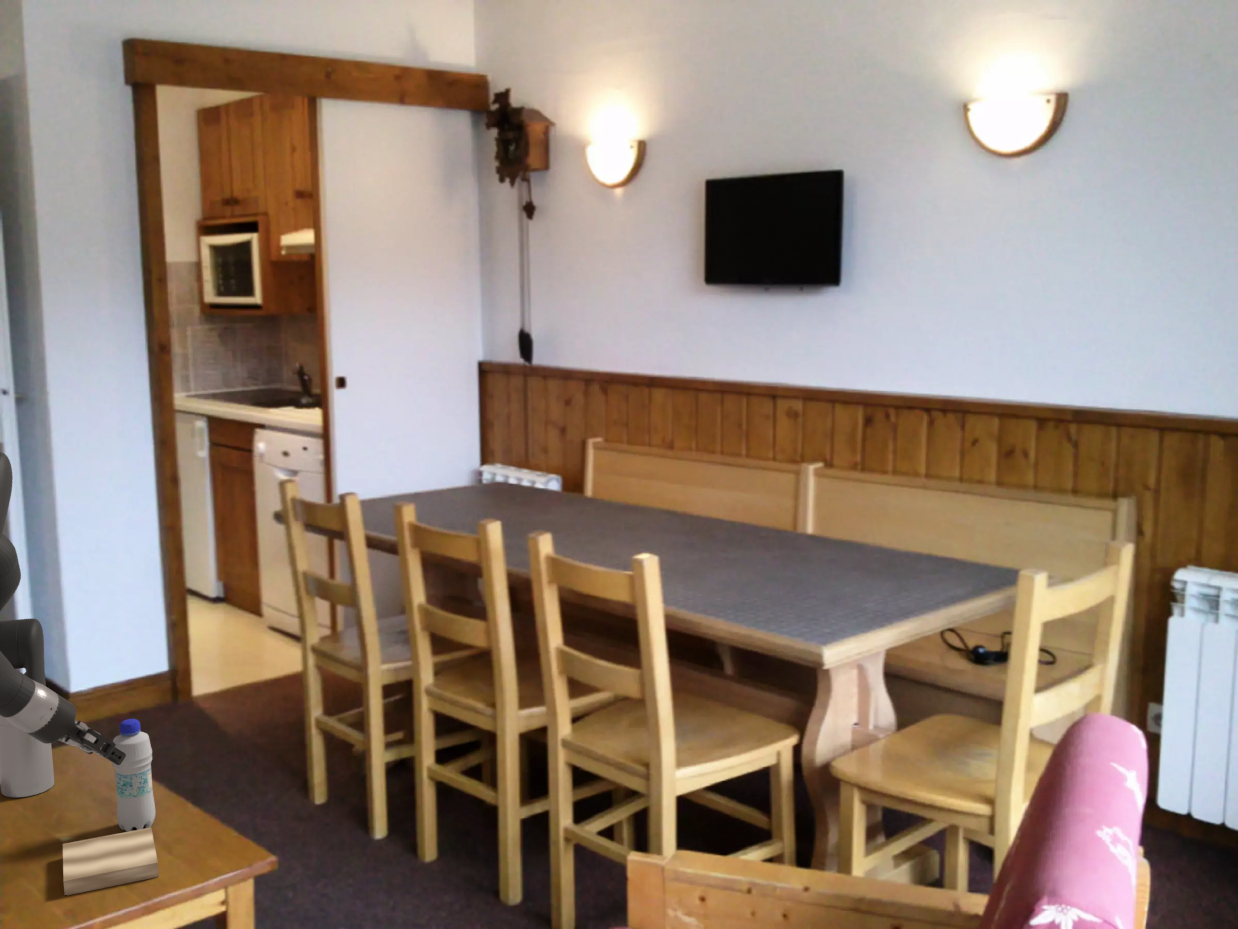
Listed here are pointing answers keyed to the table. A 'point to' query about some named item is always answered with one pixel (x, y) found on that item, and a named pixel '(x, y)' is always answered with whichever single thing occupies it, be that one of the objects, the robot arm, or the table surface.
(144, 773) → the bottle
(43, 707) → the robot arm
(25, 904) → the table surface
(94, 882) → the birch stand
